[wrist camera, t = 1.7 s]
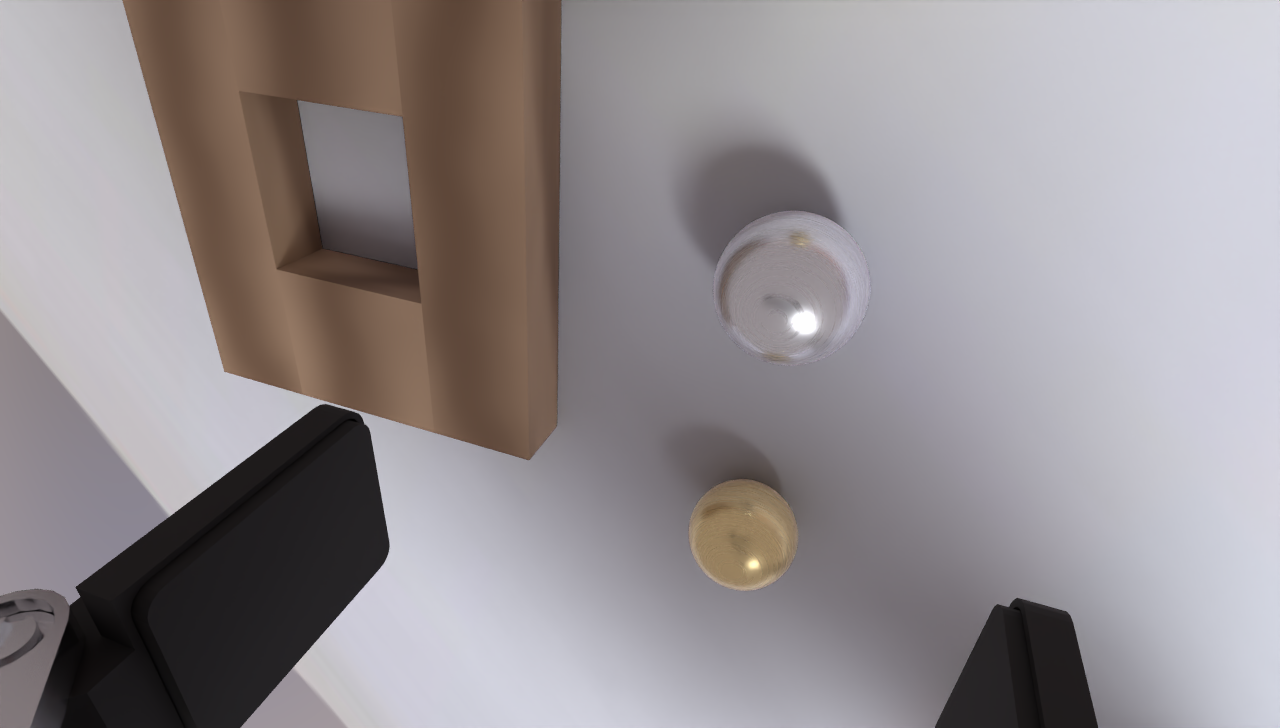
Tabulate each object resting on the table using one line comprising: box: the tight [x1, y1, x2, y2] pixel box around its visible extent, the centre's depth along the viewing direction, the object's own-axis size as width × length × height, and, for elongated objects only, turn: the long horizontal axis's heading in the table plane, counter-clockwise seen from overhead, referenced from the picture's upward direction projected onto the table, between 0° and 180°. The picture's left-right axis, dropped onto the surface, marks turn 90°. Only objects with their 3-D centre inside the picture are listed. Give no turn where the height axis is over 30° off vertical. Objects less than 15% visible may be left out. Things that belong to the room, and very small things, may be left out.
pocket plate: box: [123, 0, 561, 460], centre depth 25 cm, size 15×18×2 cm
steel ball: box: [713, 211, 871, 366], centre depth 20 cm, size 4×4×4 cm
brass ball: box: [689, 479, 798, 591], centre depth 26 cm, size 4×4×4 cm
